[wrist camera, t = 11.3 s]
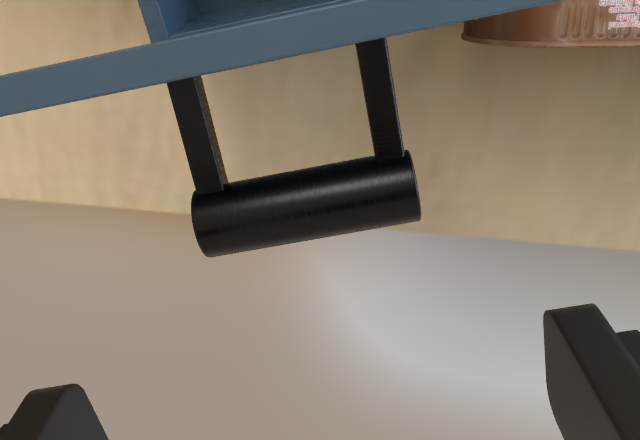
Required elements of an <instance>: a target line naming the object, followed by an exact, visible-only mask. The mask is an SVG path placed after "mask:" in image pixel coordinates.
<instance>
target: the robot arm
mask: <svg viewBox="0 0 640 440" xmlns="http://www.w3.org/2000/svg"><path fill="white" fill-rule="evenodd" d="M543 325H544V344H545V364H546V382H547V390H548V396H549V400H550V404H551V408H552V411H553V414H554V417H555V420H556V422H557V424H558V427H559V429H560V431H561V433H562V436H563V438H564V440H640V332H639V331H637V330H631V331H625V332H618V333H615V331H614V330H613V329H612V327H611V326H610V324H609V323H608V321H607V320H606V319H605V317H604V316H603V314H602V313H601V311H600V310H599V309H598V307H597V306H596V305H594V304H585V305H579V306H572V307H566V308H560V309H553V310H547V311H545V313H544V317H543ZM0 440H108V438H107V436H106V433H105V431H104V429H103V427H102V425H101V423H100V421H99V419H98V417H97V415H96V413H95V411H94V409H93V407H92V405H91V403H90V401H89V399H88V397H87V395H86V393H85V391H84V390H83V388H81V386H79V385H78V384H68V385H62V386H56V387H49V388H44V389H36V390H33V391H31V392H29V393H28V394H27V395H26V397H25V398H24V400H23V402H22V403H21V405H20V406H19V408H18V409H17V411H16V413H15V414H14V415H13V417H12V419H11V420H10V422H9V423H8V424H4V425H3V426H2V427H1V428H0Z"/></svg>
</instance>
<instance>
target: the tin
mask: <svg viewBox="0 0 640 440" xmlns="http://www.w3.org/2000/svg"><path fill="white" fill-rule="evenodd" d="M461 38H462V39H463V40H465V41H469V42H474V43H480V44H488V45H497V46H518V47H544V48H545V47H551V48H553V47H621V46H622V47H627V46H640V0H565V1H560V2H555V3H550V4H545V5H541V6H536V7H531V8H526V9H521V10H516V11H511V12H507V13H502V14H497V15H492V16H487V17H482V18H477V19H473V20H468V21H464V31H463V33H462V35H461Z"/></svg>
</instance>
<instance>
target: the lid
mask: <svg viewBox="0 0 640 440" xmlns="http://www.w3.org/2000/svg"><path fill="white" fill-rule="evenodd" d="M560 1H565V0H353V1H348V2H343V3H339V4H334V5H329V6H325V7H320V8H315V9H311V10H306V11H301V12H297V13H292V14H287V15H283V16H278V17H273V18H268V19H264V20H259V21H254V22H250V23H245V24H240V25H236V26H231V27H226V28H222V29H217V30H212V31H207V32H203V33H198V34H193V35H189V36H184V37H179V38H175V39H170V40H165V41H161V42H156V43H151V44H146V45H142V46H137V47H132V48H128V49H123V50H118V51H114V52H109V53H104V54H100V55H95V56H90V57H86V58H81V59H76V60H71V61H67V62H62V63H57V64H53V65H48V66H43V67H39V68H34V69H29V70H25V71H20V72H15V73H10V74H6V75H1V76H0V117H2V116H7V115H11V114H16V113H21V112H26V111H31V110H36V109H41V108H45V107H50V106H55V105H60V104H65V103H70V102H75V101H79V100H84V99H89V98H94V97H99V96H104V95H109V94H113V93H118V92H123V91H128V90H133V89H138V88H143V87H147V86H152V85H157V84H162V83H167V86H168V89H169V93H170V97H171V100H172V104H173V108H174V111H175V115H176V119H177V122H178V126H179V130H180V133H181V137H182V141H183V144H184V148H185V152H186V155H187V159H188V163H189V166H190V170H191V174H192V177H193V181H194V185H195V188H196V190H195V191H194V192H193V195H192V201H191V215H192V223H193V228H194V232H195V236H196V239H197V242H198V244H199V246H200V248H201V250H202V252H203V253H204V254H205V256H207V257H216V256H221V255H227V254H233V253H239V252H244V251H250V250H256V249H261V248H267V247H273V246H278V245H284V244H290V243H296V242H301V241H307V240H312V239H319V238H324V237H330V236H336V235H341V234H347V233H353V232H358V231H364V230H370V229H376V228H381V227H387V226H393V225H398V224H404V223H410V222H416V221H419V220H421V206H420V199H419V192H418V186H417V180H416V175H415V170H414V166H413V161H412V158H411V154H410V152H409V151H408V150H404V148H403V142H402V135H401V129H400V123H399V116H398V110H397V104H396V98H395V91H394V85H393V79H392V72H391V66H390V60H389V54H388V47H387V41H386V37H390V36H395V35H400V34H405V33H409V32H414V31H419V30H424V29H429V28H434V27H439V26H443V25H448V24H453V23H458V22H463V21H468V20H473V19H477V18H482V17H487V16H492V15H497V14H502V13H507V12H511V11H516V10H521V9H526V8H531V7H536V6H541V5H545V4H550V3H555V2H560ZM351 44H355V45H356V51H357V57H358V62H359V68H360V74H361V80H362V85H363V91H364V97H365V102H366V108H367V114H368V120H369V125H370V131H371V137H372V142H373V148H374V154H375V156H370V157H364V158H359V159H354V160H348V161H343V162H338V163H332V164H327V165H322V166H316V167H311V168H305V169H300V170H295V171H289V172H284V173H279V174H273V175H268V176H263V177H257V178H252V179H247V180H241V181H236V182H231V183H228V180H227V176H226V172H225V168H224V164H223V160H222V156H221V152H220V149H219V145H218V141H217V137H216V133H215V129H214V125H213V121H212V117H211V113H210V109H209V105H208V101H207V98H206V94H205V90H204V86H203V82H202V78H201V75H206V74H210V73H215V72H220V71H225V70H230V69H235V68H240V67H244V66H249V65H254V64H259V63H264V62H269V61H274V60H278V59H283V58H288V57H293V56H298V55H303V54H308V53H312V52H317V51H322V50H327V49H332V48H337V47H342V46H346V45H351Z"/></svg>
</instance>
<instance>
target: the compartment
mask: <svg viewBox="0 0 640 440" xmlns="http://www.w3.org/2000/svg"><path fill="white" fill-rule="evenodd" d="M348 1H353V0H138V3H139V6H140V9H141V12H142V15H143V18H144V22H145V25H146V28H147V31H148V34H149V37H150V40H151V43H156V42H161V41H165V40H170V39H175V38H179V37H184V36H189V35H193V34H198V33H203V32H207V31H212V30H217V29H222V28H226V27H231V26H236V25H240V24H245V23H250V22H254V21H259V20H264V19H268V18H273V17H278V16H283V15H287V14H292V13H297V12H301V11H306V10H311V9H315V8H320V7H325V6H329V5H334V4H339V3H343V2H348Z"/></svg>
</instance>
